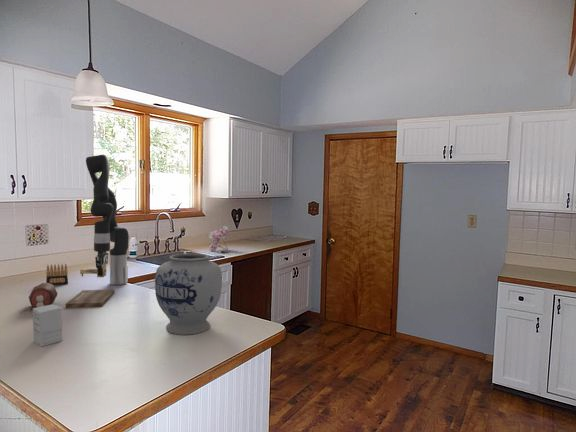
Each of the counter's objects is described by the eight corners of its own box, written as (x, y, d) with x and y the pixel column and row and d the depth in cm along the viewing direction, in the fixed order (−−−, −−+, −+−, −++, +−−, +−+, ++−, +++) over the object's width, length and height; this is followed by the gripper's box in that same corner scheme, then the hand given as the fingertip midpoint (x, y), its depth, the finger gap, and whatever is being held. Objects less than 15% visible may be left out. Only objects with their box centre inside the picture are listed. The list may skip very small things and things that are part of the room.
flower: (228, 247, 366) (216, 223, 360) (240, 248, 347) (228, 223, 341) (210, 258, 355) (198, 234, 349) (221, 259, 337) (209, 234, 331)
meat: (54, 311, 178) (54, 289, 177) (24, 314, 174) (23, 292, 173) (60, 299, 196) (59, 279, 195) (33, 301, 192) (32, 280, 191)
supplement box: (54, 336, 150) (54, 303, 149) (62, 341, 145) (62, 307, 144) (32, 341, 144) (32, 307, 143) (40, 347, 139) (39, 312, 139)
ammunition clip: (46, 285, 222) (45, 264, 221) (46, 284, 223) (46, 264, 222) (67, 284, 226) (67, 263, 225) (68, 283, 228) (67, 263, 227)
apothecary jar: (154, 319, 171) (154, 251, 168) (215, 314, 180) (215, 249, 178) (156, 343, 146) (156, 263, 143) (227, 335, 155) (228, 260, 153)
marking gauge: (107, 275, 205) (107, 263, 205) (104, 277, 200) (104, 265, 200) (82, 275, 203) (82, 263, 203) (79, 277, 198) (79, 265, 198)
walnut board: (114, 293, 210) (114, 289, 210) (102, 306, 186) (102, 302, 186) (82, 294, 207) (82, 290, 207) (65, 307, 183) (65, 303, 183)
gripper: (105, 243, 195) (105, 277, 196) (113, 240, 209) (113, 271, 210) (89, 243, 193) (89, 277, 194) (98, 239, 208) (98, 271, 209)
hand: (101, 274), depth 202 cm, fingers closed on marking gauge, 5 cm apart
